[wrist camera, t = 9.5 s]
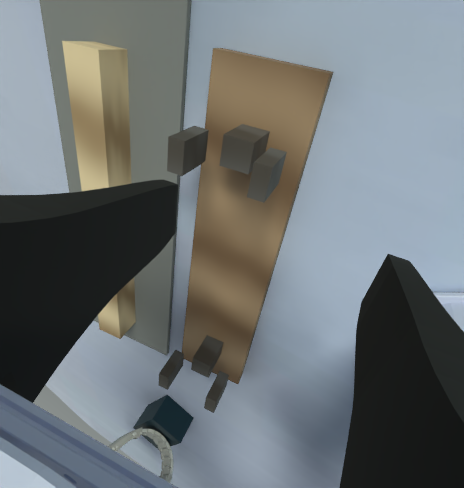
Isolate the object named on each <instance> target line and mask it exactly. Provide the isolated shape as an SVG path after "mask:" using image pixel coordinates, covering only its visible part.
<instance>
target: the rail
mask: <svg viewBox="0 0 464 488" xmlns="http://www.w3.org/2000/svg"><path fill="white" fill-rule="evenodd" d="M62 44H63V51H64V59H65V67H66V74H67V82H68V90H69V97H70V105H71V113H72V120H73V128H74V136H75V143H76V151H77V159H78V166H79V174H80V182H81V189H82V191H88V190H94V189H101V188H108V187H114V186H120V185H126V184H131V154H130V122H129V89H128V57H127V49H123V48H119V47H115V46H111V45H106V44H102V43H98V42H89V41H62ZM98 319H99V327H100V329H101V330H103V331H105V332H107V333H109V334H111V335H113V336H115V337H117V338H119V339H121V338H122V337H123V335H124V334H125V333H126V332H127V331H128V330H129V329H130V328H131V327H132V325H133V324H134V323H135V322H136V317H135V284H134V278H133V279H132V280H131V281H129V282H128V283H127V284H126V285H125V286H124V287H123V288H122V289H121V290H120V291H119V292H118V293H117V294H116V295H115V296H114V297H113V298H112V299H111V300H110V301H109V303H108V304H107V305H106V306H105V307H104V308H103V310H102V311H101V312H100V313H99V314H98Z"/></svg>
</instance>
